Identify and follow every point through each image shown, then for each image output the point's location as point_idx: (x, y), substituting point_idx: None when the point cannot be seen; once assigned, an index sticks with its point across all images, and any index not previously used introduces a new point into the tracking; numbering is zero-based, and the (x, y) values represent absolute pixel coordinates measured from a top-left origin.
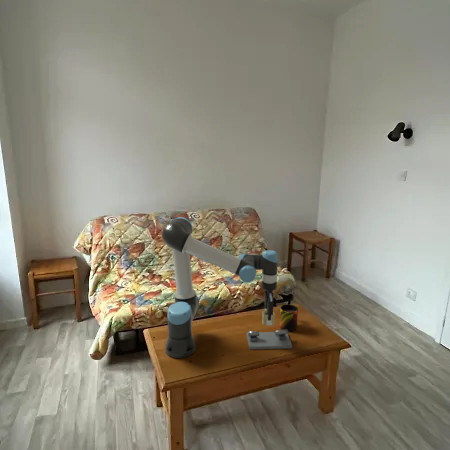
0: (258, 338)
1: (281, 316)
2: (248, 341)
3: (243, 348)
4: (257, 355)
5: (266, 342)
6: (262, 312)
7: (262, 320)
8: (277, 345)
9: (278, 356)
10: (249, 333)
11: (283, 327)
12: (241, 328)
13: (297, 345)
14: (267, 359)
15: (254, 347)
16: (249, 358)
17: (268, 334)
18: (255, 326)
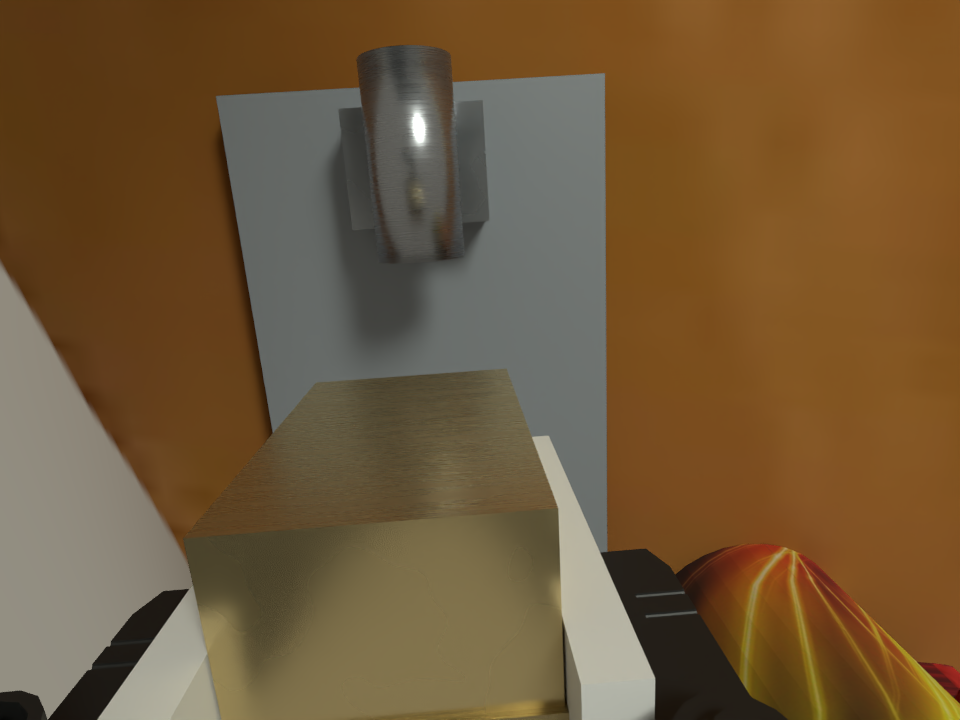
0: None
1: (821, 696)
2: (355, 88)
3: (244, 10)
4: (107, 210)
5: (352, 358)
6: (497, 492)
7: (455, 388)
8: None
9: (134, 466)
10: (366, 75)
11: (694, 605)
12: (783, 8)
13: None
14: (46, 333)
15: (235, 177)
16: (14, 89)
17: (549, 402)
18: (813, 238)
